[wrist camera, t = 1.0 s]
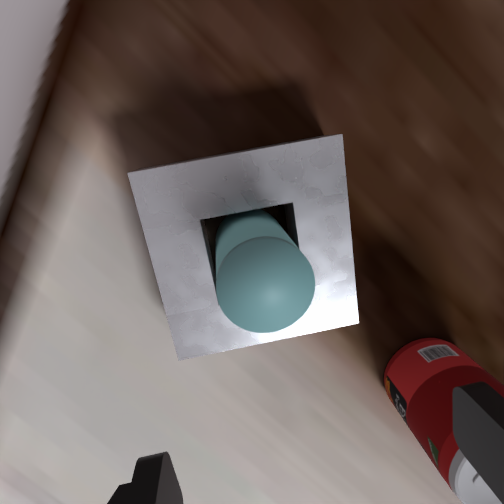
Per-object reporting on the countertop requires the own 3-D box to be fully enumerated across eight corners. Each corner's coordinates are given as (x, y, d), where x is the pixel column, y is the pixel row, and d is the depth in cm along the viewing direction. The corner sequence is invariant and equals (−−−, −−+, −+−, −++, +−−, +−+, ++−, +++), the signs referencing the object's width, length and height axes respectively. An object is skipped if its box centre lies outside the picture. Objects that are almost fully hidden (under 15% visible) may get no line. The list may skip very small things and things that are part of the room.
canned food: (364, 379, 34) (431, 484, 23) (425, 318, 33) (525, 401, 22) (415, 417, 36) (498, 530, 25) (475, 362, 35) (588, 457, 24)
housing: (324, 135, 27) (342, 133, 23) (341, 301, 31) (358, 323, 27) (139, 168, 26) (127, 172, 22) (183, 333, 31) (178, 360, 27)
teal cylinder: (277, 201, 28) (309, 231, 19) (286, 265, 30) (320, 322, 20) (209, 214, 28) (206, 251, 18) (222, 277, 29) (226, 341, 20)
